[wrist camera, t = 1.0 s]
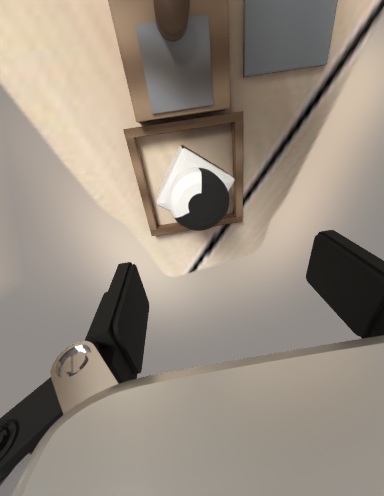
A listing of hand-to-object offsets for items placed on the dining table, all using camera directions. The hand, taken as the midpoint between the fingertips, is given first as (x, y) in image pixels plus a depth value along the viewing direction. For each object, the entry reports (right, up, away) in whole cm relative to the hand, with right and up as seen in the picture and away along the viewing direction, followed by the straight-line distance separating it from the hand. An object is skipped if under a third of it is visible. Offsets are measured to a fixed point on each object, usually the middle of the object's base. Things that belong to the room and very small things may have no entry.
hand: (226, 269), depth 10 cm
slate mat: (+9, +27, +11) cm, 30 cm away
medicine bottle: (-2, +12, +19) cm, 22 cm away
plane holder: (-3, +16, +16) cm, 23 cm away
